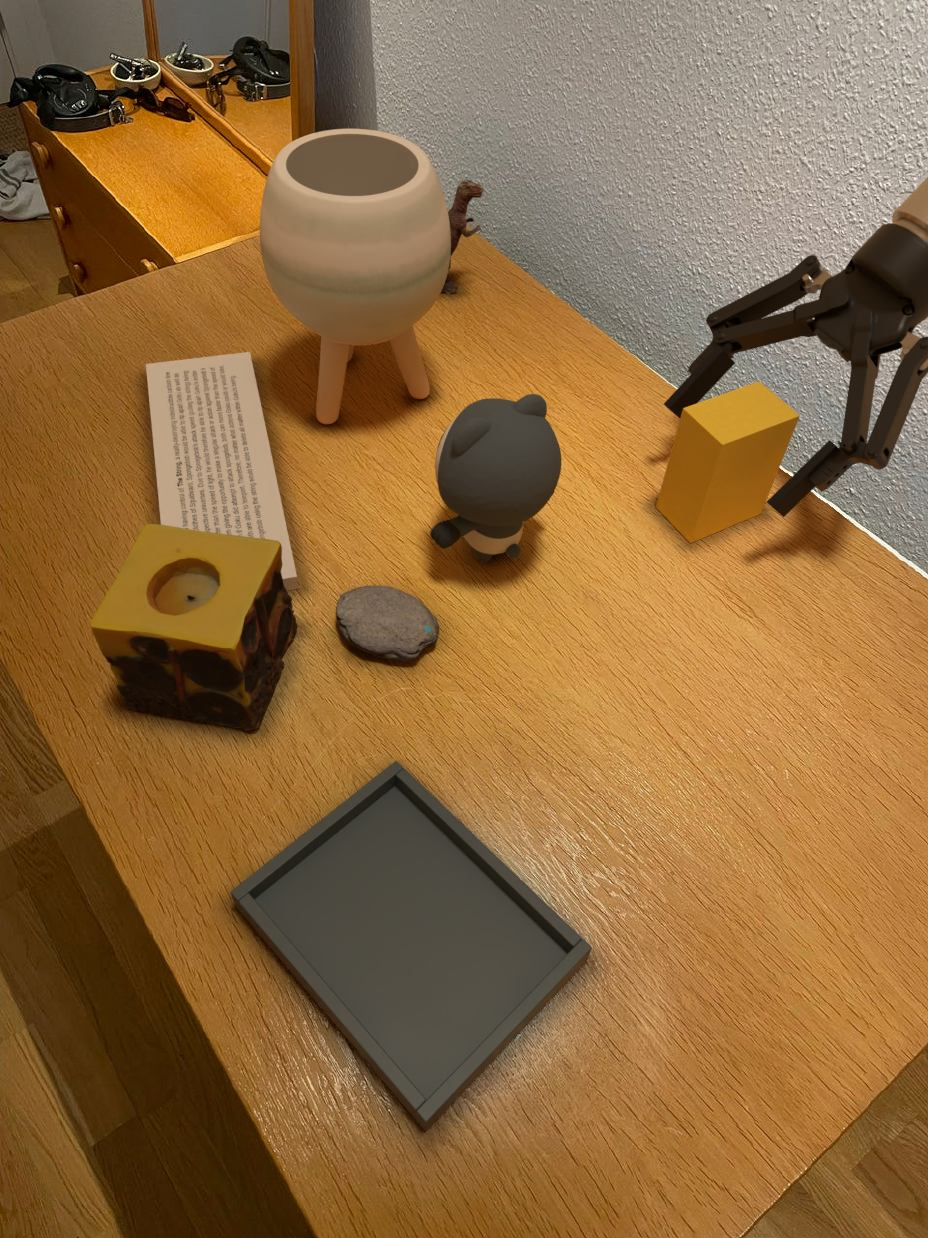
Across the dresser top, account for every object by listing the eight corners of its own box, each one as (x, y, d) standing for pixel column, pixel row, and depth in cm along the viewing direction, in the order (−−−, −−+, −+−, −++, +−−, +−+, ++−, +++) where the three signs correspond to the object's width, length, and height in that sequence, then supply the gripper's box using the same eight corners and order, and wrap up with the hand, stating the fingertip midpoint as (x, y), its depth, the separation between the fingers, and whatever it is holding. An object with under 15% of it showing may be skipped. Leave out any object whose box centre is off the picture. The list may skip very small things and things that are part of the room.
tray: (587, 961, 58) (592, 947, 56) (425, 1132, 52) (425, 1123, 50) (396, 776, 66) (396, 759, 64) (235, 906, 59) (229, 891, 58)
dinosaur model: (487, 182, 96) (343, 206, 93) (488, 289, 104) (356, 313, 102) (475, 166, 98) (334, 189, 96) (477, 271, 107) (348, 295, 104)
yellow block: (760, 513, 84) (800, 415, 75) (690, 543, 81) (722, 444, 73) (725, 479, 87) (759, 380, 78) (655, 507, 84) (682, 407, 75)
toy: (503, 487, 85) (518, 344, 73) (578, 558, 80) (606, 416, 68) (395, 538, 80) (393, 394, 68) (467, 617, 75) (477, 476, 63)
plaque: (296, 576, 75) (168, 598, 73) (298, 588, 76) (171, 610, 74) (249, 351, 93) (145, 363, 91) (251, 364, 94) (149, 376, 92)
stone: (380, 579, 77) (379, 560, 76) (454, 634, 74) (455, 615, 72) (317, 625, 74) (315, 606, 72) (392, 685, 70) (392, 667, 69)
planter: (291, 455, 86) (261, 221, 69) (271, 351, 96) (240, 123, 79) (462, 434, 89) (475, 204, 72) (426, 335, 99) (430, 112, 81)
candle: (299, 627, 74) (286, 538, 66) (259, 736, 67) (239, 651, 60) (174, 606, 74) (146, 516, 67) (123, 711, 68) (85, 625, 60)
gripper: (1061, 360, 69) (837, 567, 75) (825, 204, 82) (652, 392, 89) (1051, 314, 63) (809, 543, 69) (798, 154, 76) (615, 359, 83)
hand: (720, 459), depth 79 cm, fingers open, 13 cm apart
